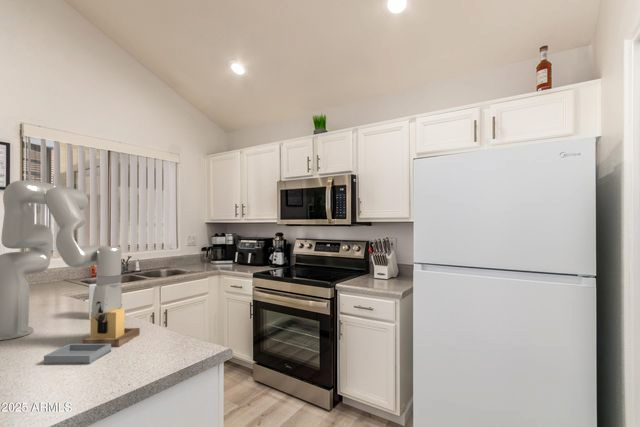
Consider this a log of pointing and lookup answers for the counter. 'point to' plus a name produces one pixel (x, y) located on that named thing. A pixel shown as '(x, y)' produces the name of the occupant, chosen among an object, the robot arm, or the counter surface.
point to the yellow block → (110, 325)
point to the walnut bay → (115, 342)
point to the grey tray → (77, 354)
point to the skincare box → (91, 297)
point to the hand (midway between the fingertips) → (107, 329)
